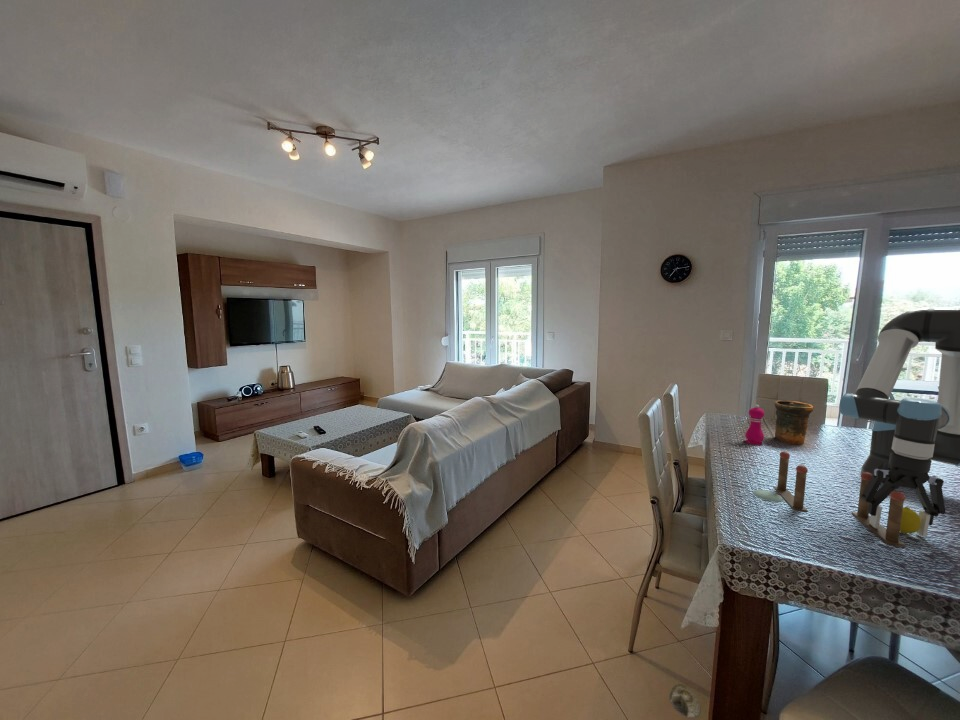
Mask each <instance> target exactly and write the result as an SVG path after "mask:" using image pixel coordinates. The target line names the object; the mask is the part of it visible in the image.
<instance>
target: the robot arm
mask: <svg viewBox="0 0 960 720" xmlns="http://www.w3.org/2000/svg"><path fill="white" fill-rule="evenodd" d="M877 341H878V344H877V347H876V349H875V351H874V353H873V355H872V357H871V359H870V361H869V363H868V364H867V366H866V367H867V368H866V370H865V372H864V374H863V376H862V378H861V380H860V382H859V384H858V386H857V387H856V390H855V392H854V393H844V394H843V395H842V396H841V397H840V401H839V406H838V407H839V412H840V414H841V415H842V416H845V417H849V418H853V419H857V420H864V421H865V420H866V421H872V422H873V426H872V429H871V431H872V432H871V437H870V438H871V439H870V449H869V455H868V457H867V458H866V459H865V461H864V463H863V464H862V465H861V469H860V475H861V474H862V473H864V472H868V473H871V474H872V477H871V479H870V481H869V482H868V484H867V486H866V488H865V490H864V491H863V493H862V495H861V498H862V499H864V500H865V501H867V502H869V506H868V513H869V516H870V521H869V524H871V525H872V526H873V527H874V528H877V529H878V528H879V524H881V523H880V522H881V518H882V517H881V516H882V511H883V506H881V503H883V502H884V501H885V500H886V499H887V498H888V497H890V493H891V492H892V491H896V490H898V489H899V488H909V489H913V491H914V493H915V495H916V497H917V499H918V501H919V502H920V505H921V507H922V509H923V510H921V509H919V511H918V515H919V517H920V522H921V525H920V528H919V530H918V531H917V532H916V533H917V534H918V535H920V536H921V537H923V538H927V535H928V532H929V531H928V530H929V526H932V525H933V524H934V520H935V519H934V518H935V517H938V516H939V515H945V514H946V507H945V506H946V505H945V500H944V493H943V492H944V491H943V485H944V483H945V480H943V479H942V478H940V477H938V476H935V475H932V476H931V475H929V472H930V471H931V467H932V466H931V465H932V462H939V463H943V464H947V465H952V466H955V467H960V306H938V307H937V306H936V307H933V306H932V307H931V306H928V307H918V308H914V309H911V310H907V311H905V312H902V313H900V314H899V315H897V316H895V317H894V318H892V319H891V320H890V321H889V322H887V323H886V324H885V325H884V326H883V327H882V329H881V330H880V331H879V333H878V335H877ZM923 342H924V343H935V345H934V346H935V347H934V348H935V350H937V351H938V352H939V353H940V354H941V358H940V359H941V361H940V370H939V371H940V372H939V382H938V384H939V386H938V392H937V393H938V394H937V401H934V400H929V399H924V398H923V399H921V398H912V397H907V398H902V399H901V400H900V399H899V400H898V399H892V398H890V397H891V394H892V392H893V389H894V388H895V385H896V383H897V381H898V378H899V376H900V374H901V371H902V369H903V368H904V365H905V363H906V361H907V358H908V356H909V354H910V353H911V350H912V349H914V348H916V347H917V346H918V344H919V343H923ZM926 482H927V483H928V486H929V487H928V488H929V495H930V497H929V496H928V493H927V490H926V488H925V486H924V484H925V483H926ZM882 484H883V485H882ZM930 499H931V500H930Z"/></svg>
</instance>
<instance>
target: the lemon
mask: <svg viewBox="0 0 960 720" xmlns="http://www.w3.org/2000/svg"><path fill="white" fill-rule="evenodd" d="M920 525H921V522H920V517H919V513H917V512H916V511H915V510H914V509H911V508H910V507H908V506H903V511H902V518H901V526H900V532H901V534H903V535H907V534H915V533H917V531H918V530H919V528H920Z"/></svg>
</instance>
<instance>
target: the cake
mask: <svg viewBox="0 0 960 720" xmlns="http://www.w3.org/2000/svg"><path fill="white" fill-rule="evenodd" d="M669 701H670V704H671V706H672V708H673V709H674V710H675V711H676V712H677V713H678V714H679V715H681V716H683V717H684V718H688V719H696V718H697V719H698V717H700V714H701V705H700V701H699V698H698V696H697V695H696V693H695V691H693V690H692V689H691V688H690V687H688V686H686V685H685V684H682V683H681V684H679V683H678V684H675V685H674V686H672V687H671V690H670V693H669Z"/></svg>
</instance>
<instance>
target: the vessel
mask: <svg viewBox="0 0 960 720" xmlns="http://www.w3.org/2000/svg"><path fill="white" fill-rule="evenodd" d="M774 406H775V408H776V409H775V410H776V411H775V415H776V419H775V431H774V439H775V440H776V441H777V442H781V443H785V444H787V445H788V444H790V445H800V446H801V445H804V444H805V439H806V435H807V431H808V427H809V425H808V423H809V418H810V414H811V413H812V412H813V411H814V406H813V405H812V404H809V403H805V402H801V401H794V400H776V401H775V402H774Z"/></svg>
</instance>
